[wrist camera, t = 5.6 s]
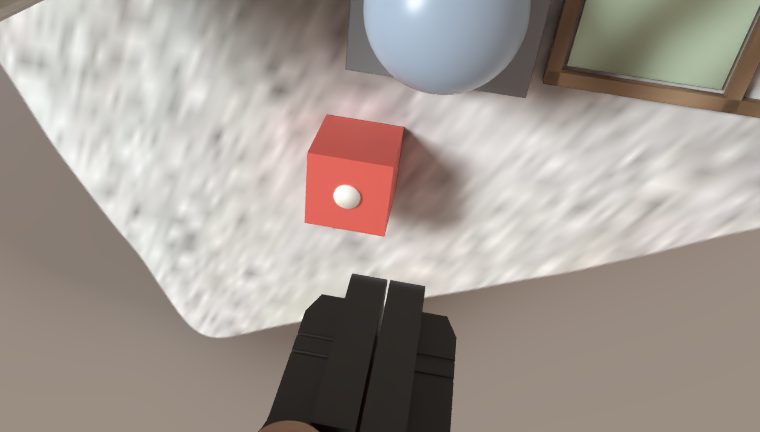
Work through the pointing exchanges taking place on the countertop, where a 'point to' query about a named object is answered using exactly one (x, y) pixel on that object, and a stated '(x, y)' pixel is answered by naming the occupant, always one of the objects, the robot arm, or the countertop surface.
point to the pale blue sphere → (445, 40)
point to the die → (352, 174)
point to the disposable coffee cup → (14, 7)
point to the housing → (506, 83)
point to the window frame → (660, 50)
